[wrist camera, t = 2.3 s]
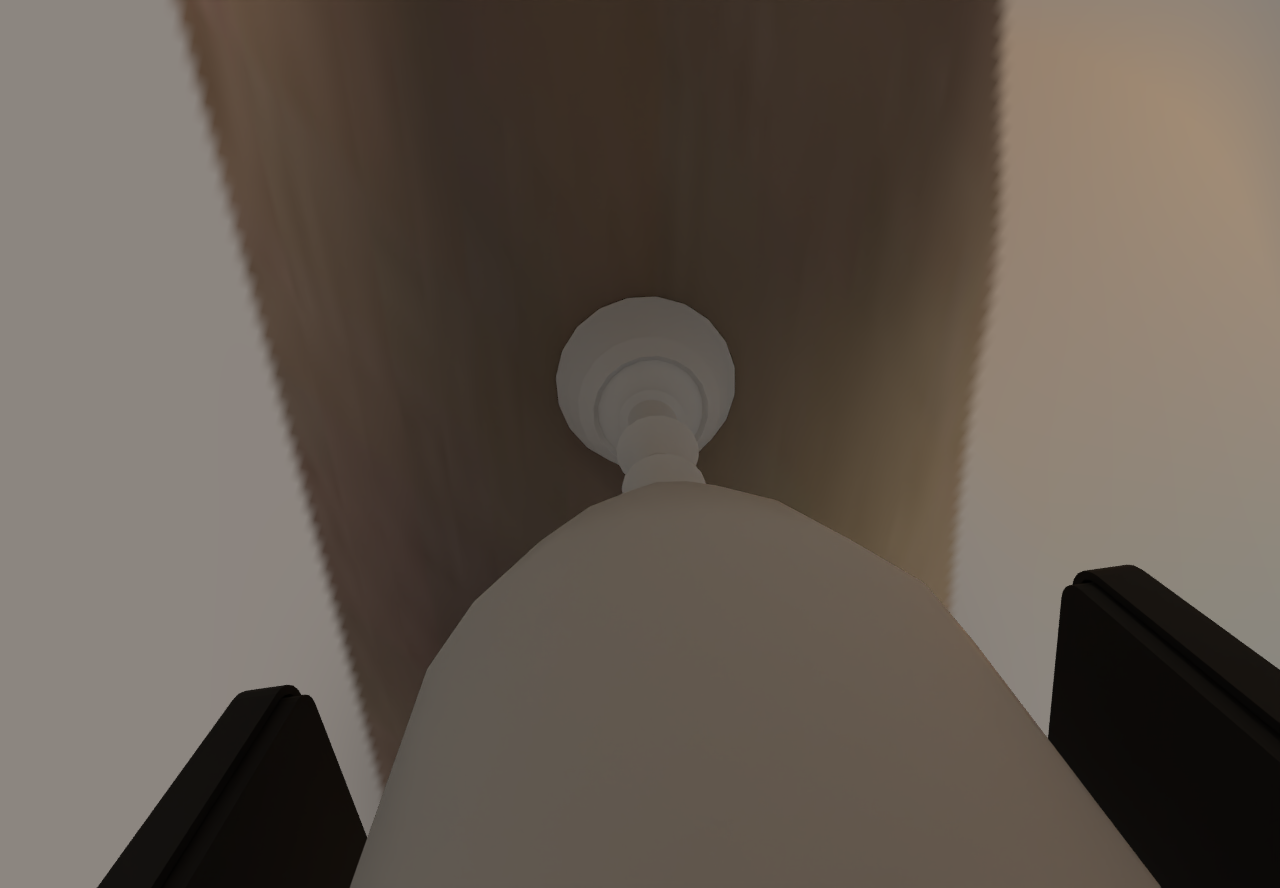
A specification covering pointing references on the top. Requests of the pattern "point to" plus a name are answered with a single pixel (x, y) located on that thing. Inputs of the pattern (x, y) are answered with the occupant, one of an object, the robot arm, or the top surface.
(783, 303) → the top surface
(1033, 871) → the chalice
